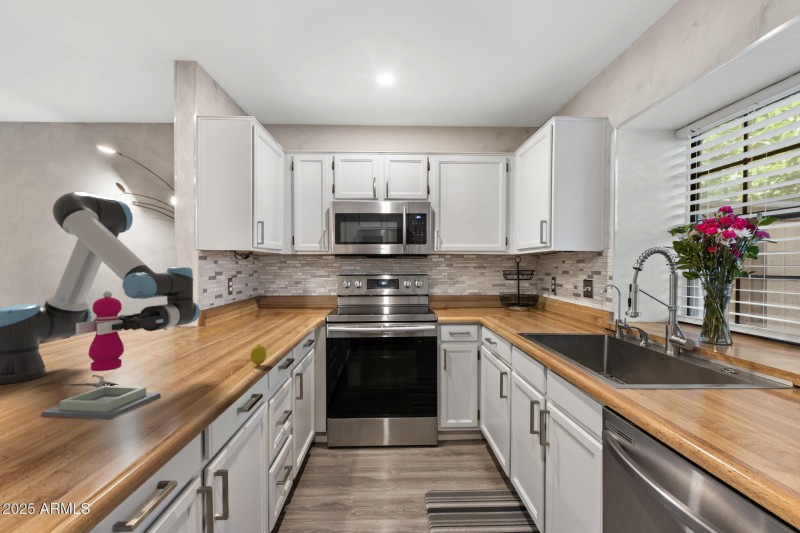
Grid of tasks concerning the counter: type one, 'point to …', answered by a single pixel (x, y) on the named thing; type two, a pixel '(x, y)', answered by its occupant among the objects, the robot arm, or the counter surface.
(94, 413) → the pocket board
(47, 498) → the counter surface
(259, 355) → the lemon
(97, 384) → the pliers
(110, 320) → the pepper mill
